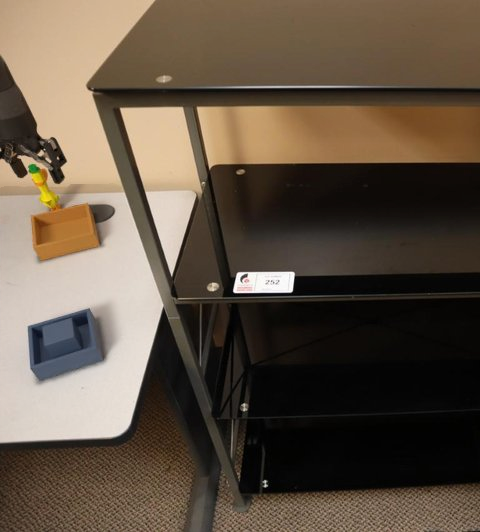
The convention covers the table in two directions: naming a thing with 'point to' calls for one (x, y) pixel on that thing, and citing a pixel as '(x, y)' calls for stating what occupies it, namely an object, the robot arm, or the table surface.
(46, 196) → the toy figure
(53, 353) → the blue block
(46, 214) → the ochre bin
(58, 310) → the table surface
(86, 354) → the blue bin
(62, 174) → the robot arm
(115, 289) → the table surface
